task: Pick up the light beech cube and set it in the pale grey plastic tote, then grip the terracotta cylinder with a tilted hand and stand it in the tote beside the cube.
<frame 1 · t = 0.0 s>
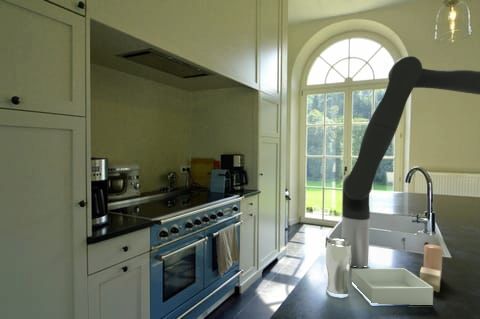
grey tote: (389, 294, 86), on the countertop
beech cube: (429, 287, 91), on the countertop
terracotta cylinder: (432, 276, 99), on the countertop
beer glass: (337, 294, 86), on the countertop
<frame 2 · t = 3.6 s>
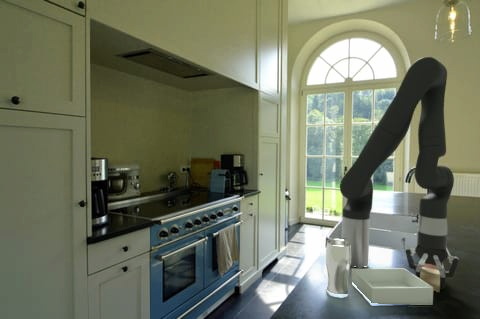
hand: (429, 285, 91), 0 cm above the countertop, tool pointing down, fingers closed on beech cube, 5 cm apart
beech cube: (430, 287, 91), on the countertop, touching gripper
everything else where it was.
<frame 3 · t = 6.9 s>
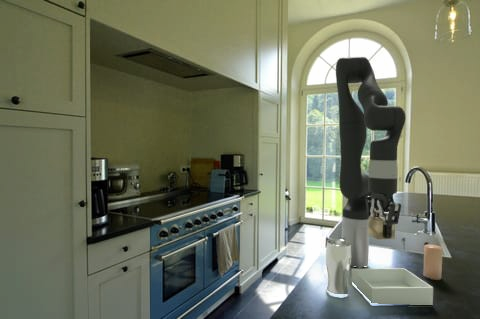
hand: (381, 234, 85), 17 cm above the countertop, tool pointing down, fingers closed on beech cube, 5 cm apart
beech cube: (381, 236, 85), point 17 cm above the countertop, touching gripper
everything else where it was.
when the fingers open (3 cm above the countertop, at t = 10.3 s): beech cube drops 1 cm, resting on grey tote.
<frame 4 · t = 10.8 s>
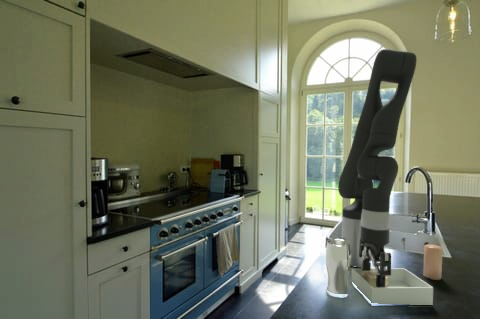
hand: (372, 280, 86), 4 cm above the countertop, tool pointing down, fingers open, 8 cm apart
beech cube: (374, 291, 86), point 1 cm above the countertop, touching grey tote
everything else where it was.
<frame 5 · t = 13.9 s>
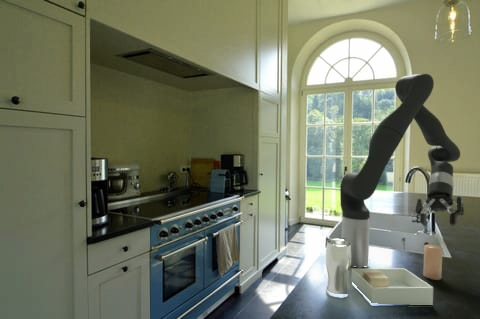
hand: (437, 224, 102), 16 cm above the countertop, tool tilted 40°, fingers open, 8 cm apart
nothing on the countertop moved.
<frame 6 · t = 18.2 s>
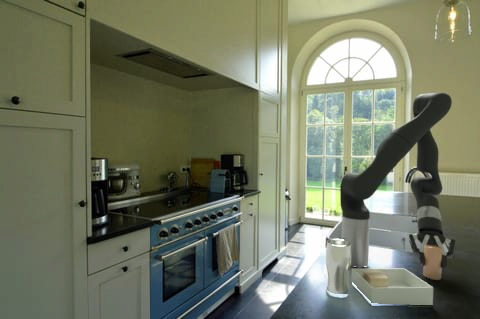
hand: (433, 266, 97), 4 cm above the countertop, tool tilted 45°, fingers closed on terracotta cylinder, 5 cm apart
terracotta cylinder: (432, 276, 99), on the countertop, touching gripper
everything else where it was.
when the fingers open (7 cm above the countertop, at t = 23.8 s): terracotta cylinder drops 2 cm, resting on grey tote.
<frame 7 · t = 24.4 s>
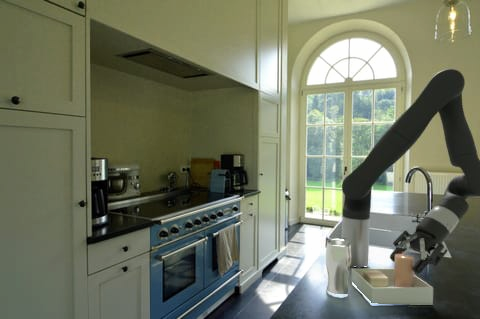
hand: (402, 265, 86), 8 cm above the countertop, tool tilted 45°, fingers open, 8 cm apart
terracotta cylinder: (403, 290, 86), point 1 cm above the countertop, touching grey tote
everything else where it was.
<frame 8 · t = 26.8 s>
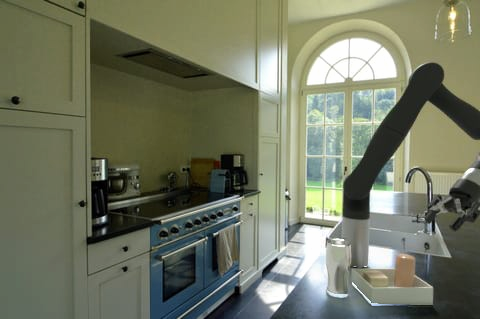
hand: (438, 225, 88), 20 cm above the countertop, tool tilted 45°, fingers open, 8 cm apart
nothing on the countertop moved.
at the end: beech cube inside the target area on the grey tote (4.4 cm from its centre), point 1.0 cm above the grey tote's base; terracotta cylinder inside the target area on the grey tote (4.3 cm from its centre), point 1.0 cm above the grey tote's base; terracotta cylinder tilted 1° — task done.
